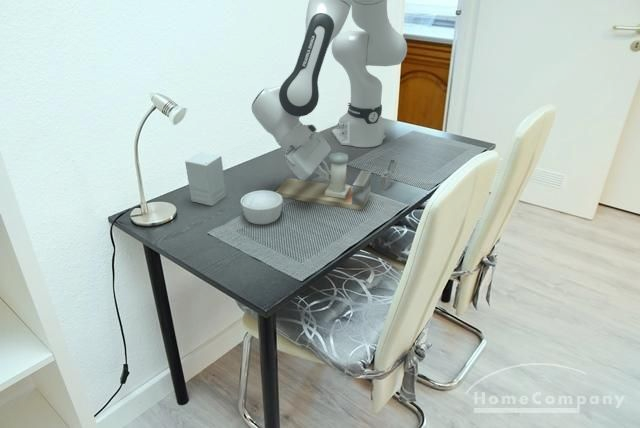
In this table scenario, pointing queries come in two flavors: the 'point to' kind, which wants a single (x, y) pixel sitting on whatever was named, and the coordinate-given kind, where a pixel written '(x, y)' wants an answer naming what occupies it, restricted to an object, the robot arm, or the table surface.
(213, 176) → the supplement box
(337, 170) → the white upright cylinder
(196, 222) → the table surface
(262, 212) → the ramekin
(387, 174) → the lighter
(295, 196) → the rail mount
